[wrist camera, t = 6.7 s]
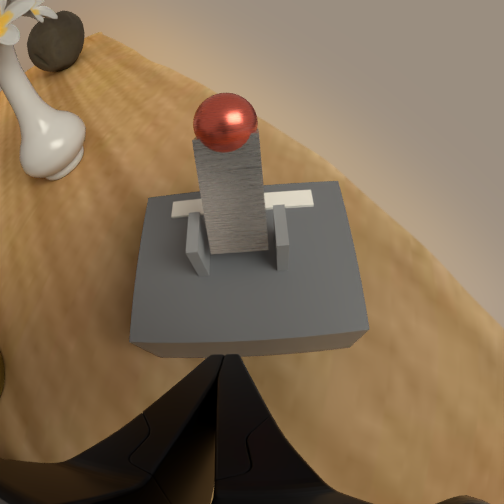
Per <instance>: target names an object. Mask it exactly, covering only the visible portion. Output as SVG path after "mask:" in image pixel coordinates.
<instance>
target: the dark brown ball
mask: <svg viewBox="0 0 504 504" xmlns="http://www.w3.org/2000/svg"><path fill="white" fill-rule="evenodd" d="M56 15H57V16H58V18H57V19H52V18H46V17H45V18H43V19H44V22H43V23H41V22H38V23H37V24H36V25H35V26H34V27H33V29H32V30H31V32H30V34H29V38H28V42H27V47H28V54H29V57H30V59H31V61H32V62H33V64H34V65H35V66H37V67H38V68H40V69H42V70H44V71H49V72H55V71H60V70H63V69H66V68H68V67H69V66H71V65H72V64H73V63H74V62H75V61H76V59H77V58H78V56H79V54H80V52H81V50H82V48H83V43H84V28H83V24H82V21H81V20H80V18H79V17H78V16H76V15H75V14H73V13H72V12H68V11H60V12H58V13H56Z"/></svg>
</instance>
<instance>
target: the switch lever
mask: <svg viewBox="0 0 504 504" xmlns="http://www.w3.org/2000/svg"><path fill="white" fill-rule="evenodd" d="M257 125H258V121H257V115H256V112H255V110H254V108H253V107H252V105H251V104H250V103H249V102H248V101H247V100H246V99H244V98H243V97H241V96H239V95H236V94H233V93H219V94H216V95H213V96H211V97H209V98H207V99H206V100H205V101H203V102H202V103H201V105H200V106H199V107H198V109H197V111H196V113H195V116H194V121H193V128H194V133H195V135H196V137H195V138H194V139H193V140H192V142H193V149H194V156H195V162H196V169H197V175H198V181H199V188H200V194H201V200H202V206H203V212H204V218H205V223H206V229H207V235H208V240H209V246H210V251H211V254H224V253H237V252H250V251H264V250H268V236H267V223H266V211H265V199H264V187H263V175H262V164H261V152H260V141H259V131H258V129H257Z"/></svg>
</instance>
